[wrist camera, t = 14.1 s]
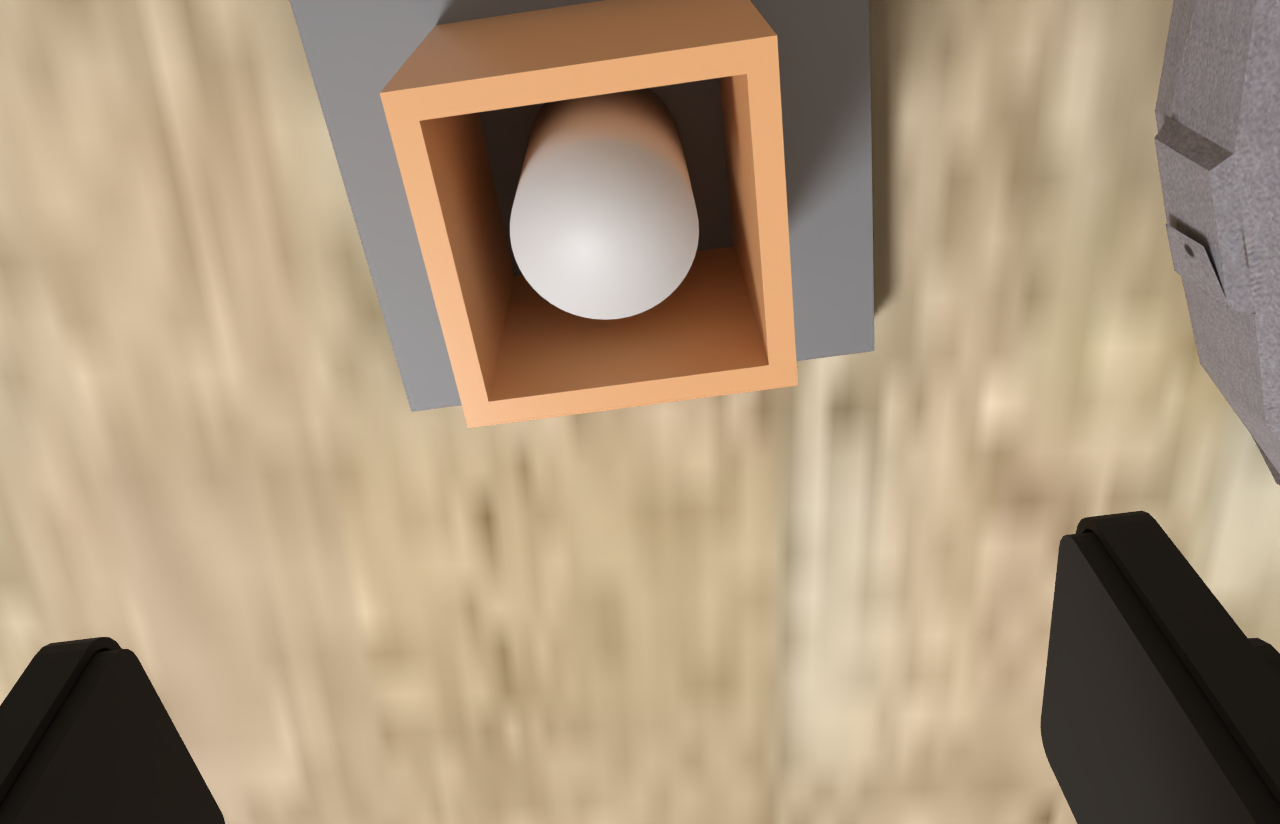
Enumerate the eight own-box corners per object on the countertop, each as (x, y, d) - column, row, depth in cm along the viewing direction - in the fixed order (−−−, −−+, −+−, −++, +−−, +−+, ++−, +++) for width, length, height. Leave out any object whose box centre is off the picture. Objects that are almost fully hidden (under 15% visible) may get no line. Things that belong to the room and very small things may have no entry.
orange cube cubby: (734, -19, 24) (777, 35, 18) (756, 263, 28) (797, 385, 22) (435, 25, 24) (379, 92, 18) (497, 298, 28) (467, 428, 22)
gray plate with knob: (852, -198, 24) (944, -204, 17) (863, 328, 31) (931, 463, 24) (277, -109, 24) (157, -81, 18) (419, 387, 31) (371, 534, 25)
